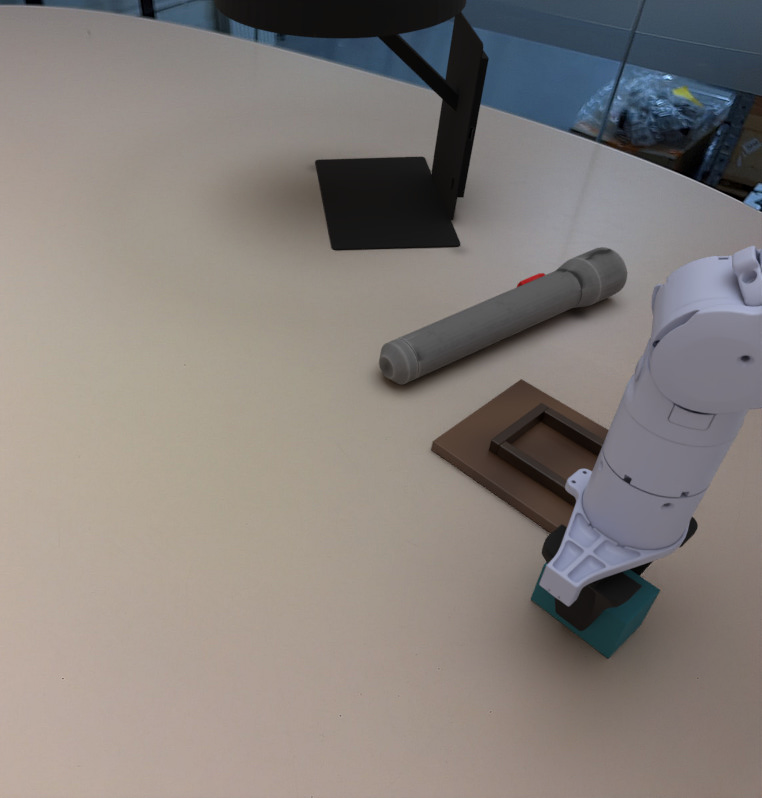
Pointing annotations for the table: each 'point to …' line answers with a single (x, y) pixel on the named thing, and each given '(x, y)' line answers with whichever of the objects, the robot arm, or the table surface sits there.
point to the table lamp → (393, 176)
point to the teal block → (607, 615)
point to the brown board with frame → (525, 451)
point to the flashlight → (504, 315)
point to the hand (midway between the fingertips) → (590, 599)
